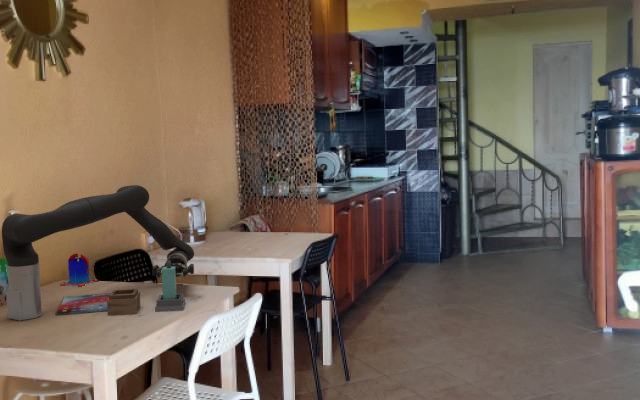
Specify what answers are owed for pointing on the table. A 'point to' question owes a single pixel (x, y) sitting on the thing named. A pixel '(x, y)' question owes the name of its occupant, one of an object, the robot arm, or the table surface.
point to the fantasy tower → (78, 271)
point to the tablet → (83, 304)
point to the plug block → (169, 281)
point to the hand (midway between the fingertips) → (171, 274)
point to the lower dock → (170, 304)
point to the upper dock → (123, 302)
